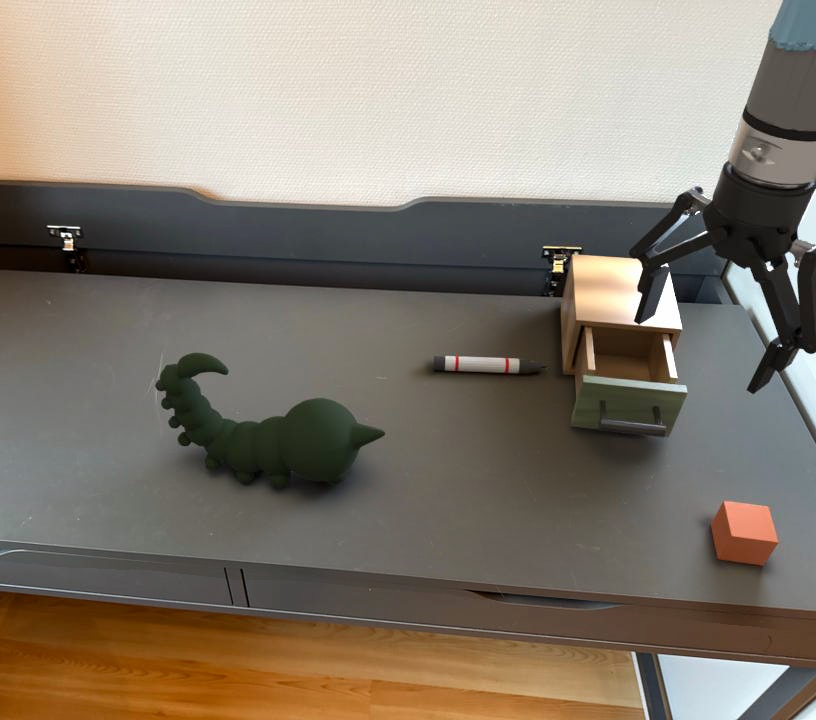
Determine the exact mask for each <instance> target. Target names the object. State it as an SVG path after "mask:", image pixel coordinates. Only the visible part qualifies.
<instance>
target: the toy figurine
mask: <svg viewBox="0 0 816 720" xmlns="http://www.w3.org/2000/svg"><path fill="white" fill-rule="evenodd" d="M203 373H204V374H205V373H216V374H220V375H222V376H228V375H229V373H230V371H229V368H228V367H227V366H226V365H225V364H224V363H223V362H222V361H221V360H220V359H218V358H217V357H215V356H214V355H211V354H208V353H205V352H192V353H187V354H185V355H183V356H181V357H180V358H179V360H178V361H177V363H171V364H166V365H165V366H164V368H163V369H162V371H161V372H160V375H159V379H157V380H156V382H155V384H154V386H155V389H156V391H157V392H165V396H164V397H163V398H162V399H161V401H160V405H161V407H162V409H164V410H166V411H168V410H171V409H173V410H174V411H173V412H174V413H173V414H174V415H171V417H170V418H169V419H168V421H167V423H168V426H169V427H170V428H171V429H178V428H179V427H182V428H184V431H182V432H181V433H179V435H178V436H177V443H178V445H180V446H181V447H189V446H190V445H191V444H194V445H196V446H198V447H203V448H204V450H205V452H206V453H207V454H206V456H205V458H204V467H205V468H206V469H207V470H209V471H216V470H219V469H220V468H221V466H222V462H223V463H228V465H229V466H230V467H231V468H233V469H234V470H236V477H237V480H238V481H239V482H241V483H243V484H249V483H250V482H251V481H252V480H253V479H254V477H255V473H257V472H259V471H261V470H262V471H264V472H265V473H268V480H269V482H270V485H272V486H274V487H277V488H282V487H286V486H287V485H288V484H289V483H290V480H291V472H292V473H293V474H295V475H297V476H298V477H300V478H301V479H305V480H309V481H314V482H325V483H327V484H328V485H332V486H333V485H335V486H336V485H339V484H341V483H342V482H343V481H344V480H345V478H346V475H347V471H348V470H349V469H350V468H351V467H352V466H353V464H354V463H355V462H356V459H357V458H358V455H359V453H360V450H361V448H362V447H364V446H366V445H370V444H371V443H373V442H375V441H377V440H380V439H381V438H383V437H384V436H386V431H385V430H383V429H380V428H377V427H373V426H370V425H366V424H362V423H359V422H358V421H357V418H356V417H355V416H354V415H353V413H352V412H351V411H350V410H349V409H348V408H347V407H346V406H344V405H343V404H341V403H340V402H337V401H336V400H333V399H329V398H326V397H325V398H324V397H316V398H310V399H305V400H303V401H301V402H299V403H297V404H296V405H294V406H292V407H291V408H290V409H289V411H288V412H287V413H286V414H285V415H284V416H282V415H275V416H270V417H268V418H265V419H263V420H262V421H261V422H257V421H253V420H244V421H240V422H237V421H235V420H234V419H230V418H223V416H222V414H221V413H220V411H218V410H216V409H215V408H212V405H211V402H210V400H209V399H208V398H207V397H206V396H205V395H204V394H202V391H201V387H200V384H198V382H197V381H196V380H194V379H193V378H194V377H196V376H198V375H200V374H203Z"/></svg>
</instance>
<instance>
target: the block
mask: <svg viewBox="0 0 816 720" xmlns="http://www.w3.org/2000/svg"><path fill="white" fill-rule="evenodd" d="M710 528H711V532H712V533H711V534H712V537H713V543H714V547H715V551H716V558H717V560H722V561H729V562H736V563H742V564H749V565H754V566H755V565H757V566H764V565H765V563H766V562H767V560H768V559H769V558H770V556H771V555H772V553H773V552H774V550H775V549H776V547H777V546H778V544H779V539H778V535H777V531H776V528H775V524H774V520H773V517H772V514H771V510H770V507H769V506H766V505H760V504H759V505H758V504H752V503H744V502H736V501H728V500H723V501H722V503H721V505H720V506H719V508H718V510H717V512H716V514H715V515H714V517H713V519H712V521H711V523H710Z"/></svg>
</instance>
